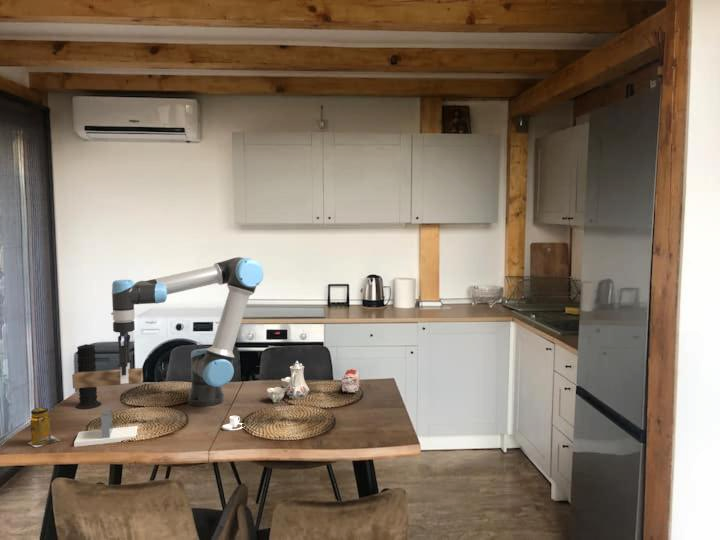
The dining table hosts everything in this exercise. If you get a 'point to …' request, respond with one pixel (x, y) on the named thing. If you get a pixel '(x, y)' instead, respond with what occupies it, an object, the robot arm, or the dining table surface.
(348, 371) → the food item
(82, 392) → the handle grip
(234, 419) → the teacup and saucer
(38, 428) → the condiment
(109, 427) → the steel ridge
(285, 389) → the chinaware
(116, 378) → the walnut batten
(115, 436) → the white board
